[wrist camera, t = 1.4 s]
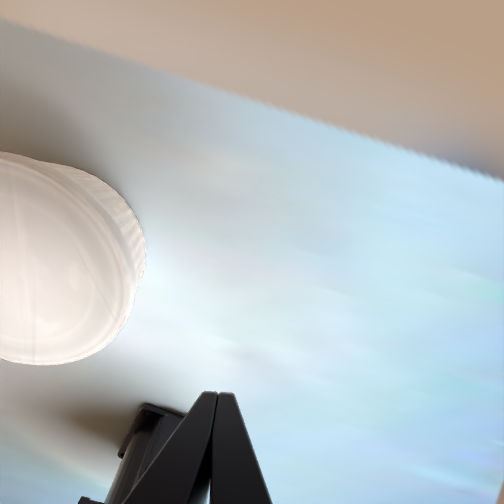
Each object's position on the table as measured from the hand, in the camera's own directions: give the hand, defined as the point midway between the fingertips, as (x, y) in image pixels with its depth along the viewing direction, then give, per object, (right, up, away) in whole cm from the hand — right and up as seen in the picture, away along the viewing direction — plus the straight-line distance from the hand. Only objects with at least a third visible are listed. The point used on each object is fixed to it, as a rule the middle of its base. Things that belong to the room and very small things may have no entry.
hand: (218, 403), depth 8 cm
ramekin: (-11, +5, +11) cm, 16 cm away
